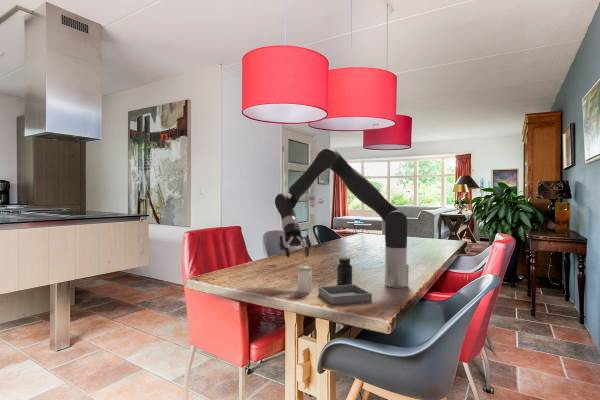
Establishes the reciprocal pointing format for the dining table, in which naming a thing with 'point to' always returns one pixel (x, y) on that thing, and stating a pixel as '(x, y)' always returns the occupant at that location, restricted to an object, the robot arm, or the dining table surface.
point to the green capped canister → (304, 279)
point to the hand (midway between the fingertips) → (298, 256)
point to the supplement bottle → (344, 272)
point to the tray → (345, 294)
